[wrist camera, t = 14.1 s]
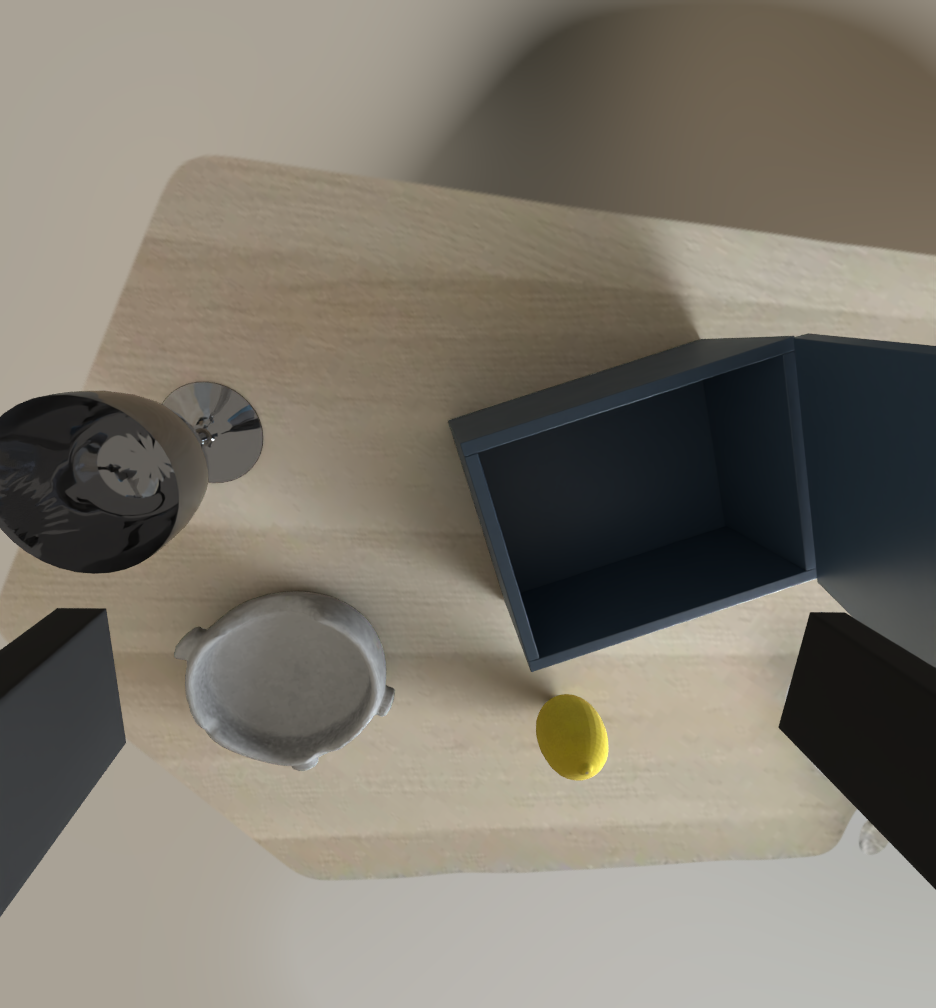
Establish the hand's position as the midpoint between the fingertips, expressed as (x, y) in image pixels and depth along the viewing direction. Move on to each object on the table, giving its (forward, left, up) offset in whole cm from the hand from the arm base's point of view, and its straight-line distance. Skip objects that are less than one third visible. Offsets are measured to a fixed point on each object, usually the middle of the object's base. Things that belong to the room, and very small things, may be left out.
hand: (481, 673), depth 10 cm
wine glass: (-5, -15, -30) cm, 34 cm away
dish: (+14, -16, -30) cm, 37 cm away
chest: (+7, +11, -30) cm, 33 cm away
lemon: (+26, +3, -30) cm, 40 cm away
